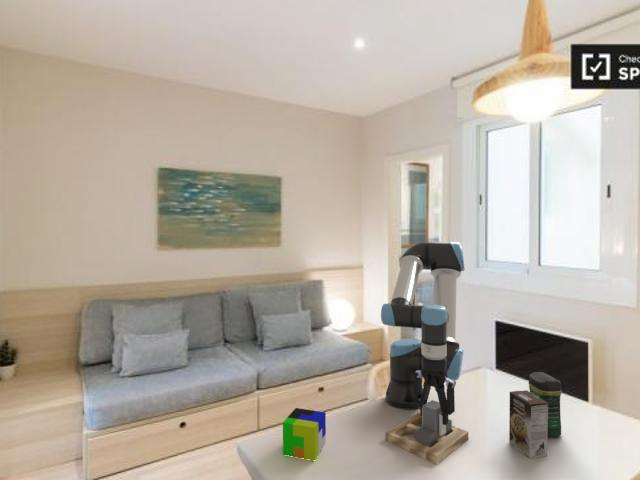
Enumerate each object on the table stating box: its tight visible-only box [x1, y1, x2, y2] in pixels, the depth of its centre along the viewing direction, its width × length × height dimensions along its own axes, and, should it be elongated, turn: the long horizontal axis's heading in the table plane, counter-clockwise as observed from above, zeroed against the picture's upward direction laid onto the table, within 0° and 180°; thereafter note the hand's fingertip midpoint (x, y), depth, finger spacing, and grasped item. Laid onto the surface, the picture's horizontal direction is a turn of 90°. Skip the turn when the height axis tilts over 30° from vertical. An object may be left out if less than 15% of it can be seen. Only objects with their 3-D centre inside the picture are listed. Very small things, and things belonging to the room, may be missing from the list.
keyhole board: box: [384, 412, 469, 465], centre depth 125 cm, size 18×19×2 cm
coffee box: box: [508, 390, 548, 459], centre depth 119 cm, size 9×6×16 cm
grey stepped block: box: [414, 399, 453, 448], centre depth 123 cm, size 4×14×12 cm, turn 133°
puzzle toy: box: [282, 407, 327, 461], centre depth 121 cm, size 10×10×10 cm
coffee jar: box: [528, 371, 562, 439], centre depth 130 cm, size 10×8×19 cm
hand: (433, 430), depth 123 cm, fingers open, 5 cm apart
